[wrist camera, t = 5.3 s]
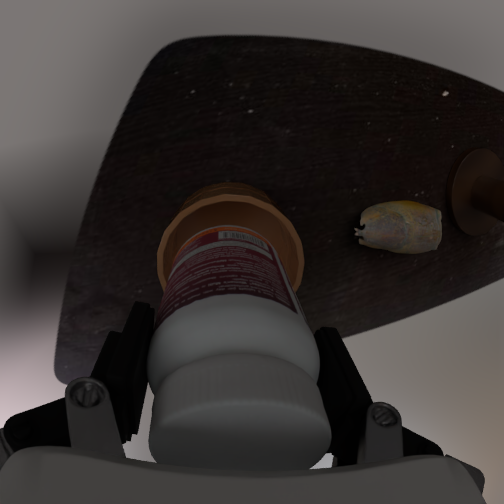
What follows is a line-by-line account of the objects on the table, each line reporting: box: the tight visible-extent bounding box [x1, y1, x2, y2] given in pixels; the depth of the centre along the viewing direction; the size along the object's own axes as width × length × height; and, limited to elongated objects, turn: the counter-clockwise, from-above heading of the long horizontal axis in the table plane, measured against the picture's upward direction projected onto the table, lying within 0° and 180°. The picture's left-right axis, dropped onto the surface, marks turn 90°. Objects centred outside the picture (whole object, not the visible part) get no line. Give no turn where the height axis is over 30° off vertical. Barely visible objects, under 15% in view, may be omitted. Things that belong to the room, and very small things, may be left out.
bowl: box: [157, 182, 305, 293], centre depth 22 cm, size 9×9×6 cm
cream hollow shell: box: [354, 201, 442, 254], centre depth 24 cm, size 8×4×5 cm, turn 102°
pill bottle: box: [146, 225, 332, 471], centre depth 12 cm, size 6×6×11 cm
